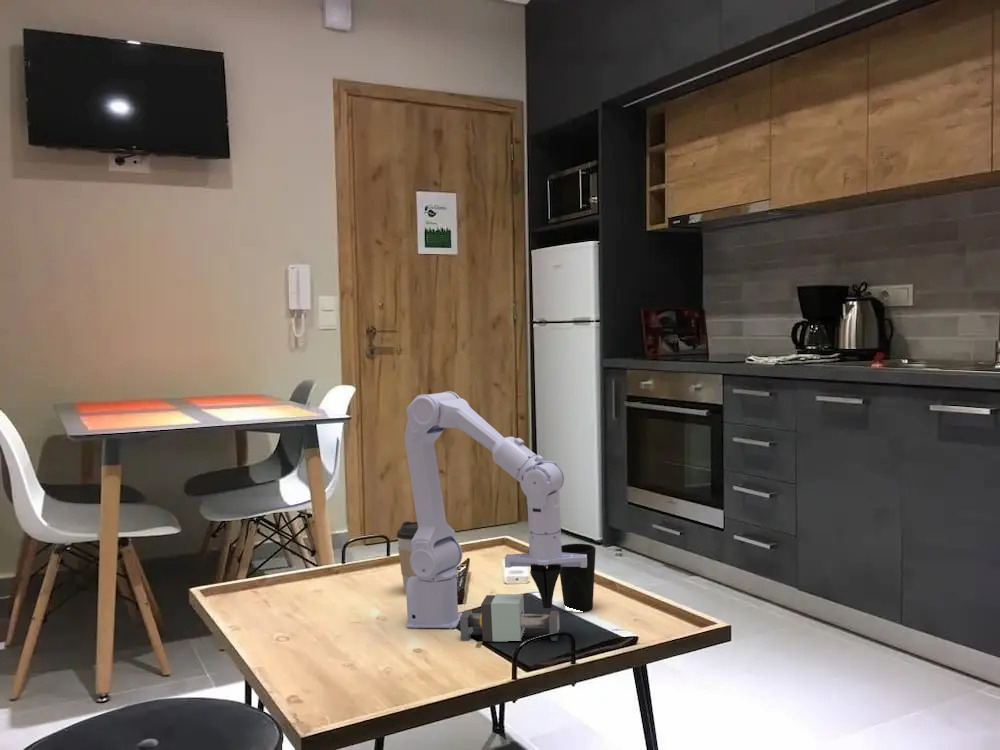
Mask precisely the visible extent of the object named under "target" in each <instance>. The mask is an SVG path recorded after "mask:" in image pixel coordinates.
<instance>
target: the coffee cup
mask: <svg viewBox="0 0 1000 750" xmlns="http://www.w3.org/2000/svg"><path fill="white" fill-rule="evenodd" d="M417 530H418V523H417V521H409V520H407V521H404V522H402V524H401V526H400V528H399V529H398V530H397V531H396V533H397V534H396V538H397V543H398V547H397V548H398V556H399V563H400V571H401V572H400V573H401V575H402V581H403V582H402V583H403V589H404V590H403V591H404V594H405V593H406V590H407V582H408V579H409V578H410V577H411V576H416V575H415V573H414V572H413V570H412V568H411V565H410V557H411V553H412V545H411V541H412V539H413V537H414V535H415V533H416V532H417Z"/></svg>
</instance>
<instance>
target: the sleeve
mask: <svg viewBox="0 0 1000 750" xmlns="http://www.w3.org/2000/svg"><path fill="white" fill-rule="evenodd" d="M524 604H525V603H524V594H523V593H520V594H519V593H514V594H513V593H497V594H495V597H494V599H493V601H492V602H491V615H492V637H493V641H492V642H508V641H521V642H522V639H523V637H522V636H524V634H525V632H524V630H525V631H526V628H521V616H520V615H521V614H525V605H524ZM523 633H524V634H523ZM521 638H522V639H521Z"/></svg>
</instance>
